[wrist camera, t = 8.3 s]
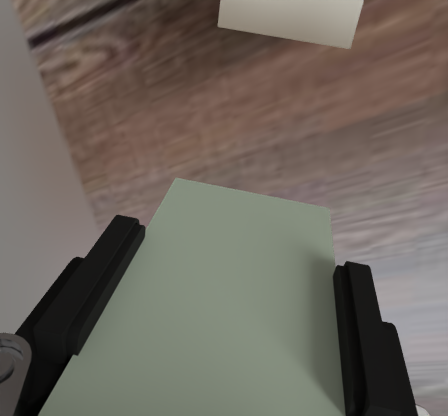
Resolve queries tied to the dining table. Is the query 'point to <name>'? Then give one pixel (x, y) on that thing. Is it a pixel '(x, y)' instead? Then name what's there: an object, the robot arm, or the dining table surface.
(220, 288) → the domino
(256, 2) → the domino
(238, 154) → the dining table surface
